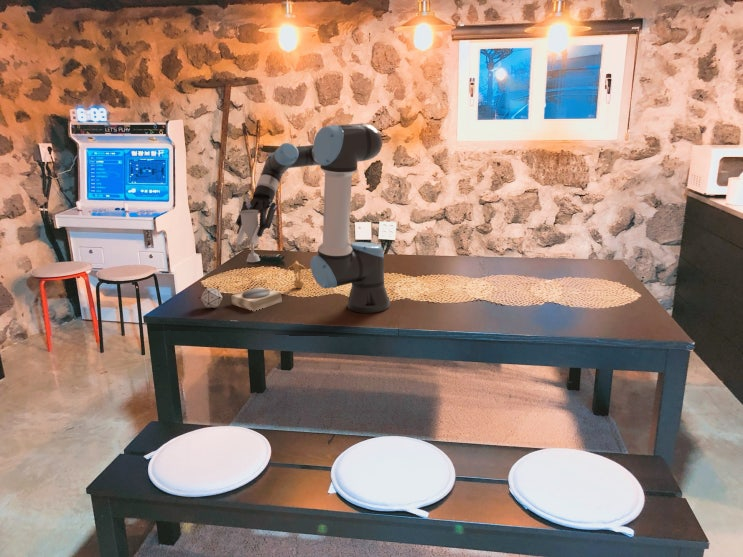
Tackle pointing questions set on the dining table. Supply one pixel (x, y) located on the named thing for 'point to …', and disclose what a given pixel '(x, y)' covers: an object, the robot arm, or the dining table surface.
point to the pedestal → (256, 298)
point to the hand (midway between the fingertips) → (246, 243)
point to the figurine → (298, 282)
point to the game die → (211, 297)
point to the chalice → (250, 230)
